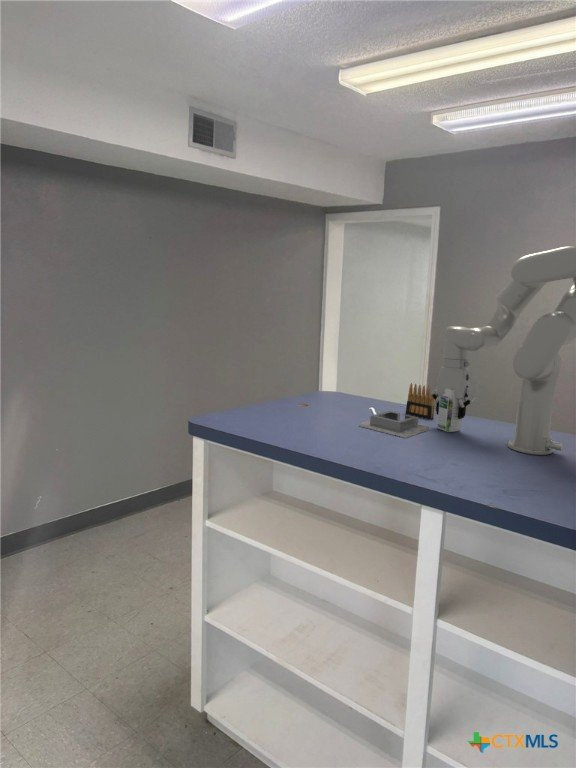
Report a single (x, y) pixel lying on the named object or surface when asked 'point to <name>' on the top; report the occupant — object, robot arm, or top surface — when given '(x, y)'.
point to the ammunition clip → (420, 402)
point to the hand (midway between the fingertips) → (450, 415)
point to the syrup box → (449, 412)
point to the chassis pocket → (394, 424)
